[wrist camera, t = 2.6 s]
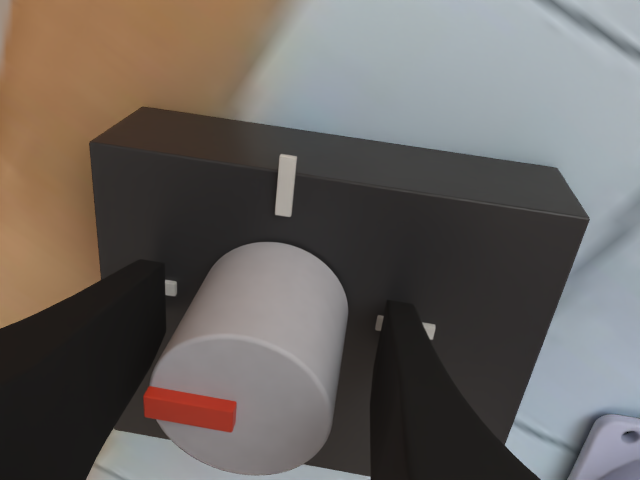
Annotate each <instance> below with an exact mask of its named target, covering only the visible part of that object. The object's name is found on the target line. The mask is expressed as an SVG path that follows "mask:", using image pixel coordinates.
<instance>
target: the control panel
mask: <svg viewBox="0 0 640 480" xmlns="http://www.w3.org/2000/svg"><path fill="white" fill-rule="evenodd" d="M89 146H90V157H91V169H92V180H93V191H94V203H95V214H96V226H97V237H98V248H99V260H100V271H101V280H102V279H104V278H106V277H108V276H109V275H111V274H113V273H115V272H117V271H118V270H120V269H122V268H124V267H126V266H127V265H129V264H131V263H133V262H135V261H137V260H139V259H143V260H149V261H155V262H161V263H165V297H166V333H165V336H164V338H163V340H162V343H161V345H160V348H159V350H158V352H157V355H156V357H155V359H154V361H153V363H152V366H151V367H150V369H149V371H148V373H147V374H146V376H145V378H144V379H143V381H142V383H141V384H140V386H139V387H138V389H137V391H136V392H135V394H134V396H133V397H132V399H131V401H130V402H129V404H128V405H127V407H126V409H125V410H124V412H123V414H122V415H121V417H120V418H119V420H118V422H117V423H116V425H115V427H114V429H115V430H119V431H125V432H130V433H136V434H141V435H147V436H152V437H158V438H163V439H169V440H171V439H170V438H169V437H168V436H167V435H166V434H165V432H164V431H163V430H162V428H161V427H160V425H159V424H158V422H157V420H156V419H152V418H147V417H144V403H143V396H144V394H145V392H146V390H147V388H148V387H149V384H150V379H151V374H152V372H153V370H154V367H155V365H156V364H157V362H158V360H159V358H160V357H161V355H162V353H163V351H164V350H165V348H166V346H167V344H168V343H169V341H170V339H171V337H172V336H173V334H174V332H175V330H176V329H177V327H178V325H179V323H180V322H181V320H182V318H183V316H184V315H185V313H186V311H187V309H188V308H189V306H190V304H191V302H192V301H193V299H194V297H195V295H196V294H197V292H198V290H199V288H200V287H201V285H202V283H203V281H204V280H205V278H206V276H207V275H208V273H209V271H210V270H211V268H212V267H213V265H214V264H215V263H216V262H217V261H218V260H219V259H220V258H221V257H222V256H224V255H225V254H226V253H228V252H230V251H231V250H233V249H236V248H238V247H240V246H243V245H247V244H251V243H257V242H277V243H284V244H288V245H292V246H295V247H298V248H301V249H303V250H305V251H307V252H309V253H311V254H312V255H314V256H315V257H317V258H318V259H320V260H321V261H322V262H323V263H325V264H326V265H327V266H328V267H329V268H330V269H331V270H332V272H333V273H334V274H335V276H336V277H337V278H338V280H339V282H340V283H341V285H342V287H343V289H344V292H345V294H346V298H347V303H348V320H347V327H346V334H345V341H344V347H343V354H342V361H341V368H340V375H339V382H338V389H337V395H336V402H335V409H334V416H333V423H332V427H331V431H330V434H329V436H328V439H327V441H326V442H325V444H324V445H323V447H322V448H321V449H320V451H319V452H318V453H317V454H316V455H315V456H314V457H313V458H311V459H310V460H309V461H307V462H306V463H304V464H305V465H310V466H316V467H321V468H327V469H332V470H338V471H343V472H349V473H354V474H360V475H365V476H371V464H370V396H371V386H372V377H373V367H374V362H375V357H376V352H377V347H378V342H379V337H380V332H381V327H382V322H383V317H384V312H385V307H386V302H387V300H392V301H399V302H405V303H411V304H414V306H415V307H416V309H417V311H418V314H419V316H420V319H421V321H422V323H423V326H424V328H425V330H426V332H427V334H428V336H429V338H430V341H431V342H432V344H433V346H434V348H435V350H436V352H437V354H438V356H439V357H440V359H441V361H442V363H443V365H444V366H445V368H446V370H447V371H448V373H449V375H450V376H451V378H452V379H453V381H454V383H455V384H456V386H457V387H458V389H459V390H460V392H461V393H462V395H463V396H464V398H465V399H466V400H467V402H468V403H469V405H470V406H471V407H472V409H473V410H474V411H475V412H476V414H477V415H478V416H479V417H480V419H481V420H482V421H483V422H484V424H485V425H486V426H487V427H488V428H489V429H490V430H491V432H492V433H493V434H494V435H495V436H496V437H497V438H498V439H499V440H500V441H501V442H502V443H503V444H504V445H505V443H506V440H507V438H508V435H509V432H510V430H511V427H512V424H513V422H514V419H515V416H516V414H517V411H518V408H519V406H520V403H521V400H522V398H523V395H524V392H525V390H526V387H527V385H528V382H529V379H530V377H531V374H532V371H533V369H534V366H535V363H536V361H537V358H538V355H539V353H540V350H541V347H542V345H543V342H544V339H545V337H546V334H547V331H548V329H549V326H550V323H551V321H552V318H553V315H554V313H555V310H556V308H557V305H558V302H559V300H560V297H561V294H562V292H563V289H564V286H565V284H566V281H567V278H568V276H569V273H570V270H571V268H572V265H573V262H574V260H575V257H576V254H577V252H578V249H579V246H580V244H581V241H582V238H583V236H584V233H585V231H586V228H587V225H588V223H589V220H590V219H589V216H588V215H587V213H586V212H585V210H584V209H583V207H582V206H581V204H580V202H579V201H578V199H577V198H576V196H575V195H574V193H573V192H572V190H571V189H570V187H569V185H568V184H567V182H566V181H565V179H564V178H563V176H562V175H561V173H560V171H559V170H558V169H557V168H554V167H547V166H541V165H534V164H527V163H520V162H514V161H507V160H500V159H493V158H486V157H480V156H473V155H466V154H459V153H453V152H446V151H439V150H432V149H426V148H419V147H412V146H405V145H399V144H392V143H385V142H378V141H372V140H365V139H358V138H351V137H345V136H338V135H331V134H324V133H317V132H311V131H304V130H297V129H290V128H284V127H277V126H270V125H263V124H257V123H250V122H243V121H236V120H230V119H223V118H216V117H209V116H203V115H196V114H189V113H182V112H176V111H169V110H162V109H155V108H148V107H141V108H140V109H138V110H137V111H135V112H134V113H132V114H131V115H129V116H128V117H126V118H125V119H123V120H122V121H120V122H119V123H117V124H116V125H114V126H113V127H111V128H110V129H108V130H107V131H105V132H104V133H102V134H101V135H99V136H98V137H96V138H95V139H93V140H92V141H90V143H89Z"/></svg>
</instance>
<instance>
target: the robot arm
mask: <svg viewBox="0 0 640 480" xmlns="http://www.w3.org/2000/svg"><path fill="white" fill-rule="evenodd" d="M165 333H166V297H165V263H161V262H155V261H149V260H143V259H139V260H137V261H135V262H133V263H131V264H129V265H127V266H126V267H124V268H122V269H120V270H118V271H117V272H115V273H113V274H111V275H109V276H108V277H106V278H104V279H102V280H101V281H99V282H97V283H95V284H93V285H91V286H90V287H88V288H86V289H84V290H82V291H81V292H79V293H77V294H75V295H73V296H71V297H69V298H67V299H65V300H63V301H61V302H59V303H57V304H55V305H53V306H51V307H49V308H47V309H45V310H43V311H41V312H39V313H37V314H34V315H32V316H30V317H28V318H25V319H23V320H21V321H18V322H16V323H14V324H11V325H8V326H6V327H3V328H1V329H0V480H86V478H87V476H88V474H89V472H90V470H91V468H92V466H93V464H94V462H95V459H96V457H97V456H98V454H99V452H100V450H101V448H102V447H103V445H104V443H105V441H106V439H107V438H108V436H109V435H110V433H111V431H112V430H113V428H114V427H115V425H116V423H117V422H118V420H119V418H120V417H121V415H122V414H123V412H124V410H125V409H126V407H127V405H128V404H129V402H130V401H131V399H132V397H133V396H134V394H135V392H136V391H137V389H138V387H139V386H140V384H141V383H142V381H143V379H144V378H145V376H146V374H147V373H148V371H149V369H150V367H151V366H152V363H153V361H154V359H155V357H156V355H157V352H158V350H159V348H160V345H161V343H162V340H163V338H164V336H165ZM628 431H632V432H630V433H628V434H624V433H625V432H628ZM370 464H371V480H540V479H539V478H538V477H537V476H536V475H535V474H534V473H533V472H531V471H530V470H529V469H528V468H527V467H526V466H525V465H524V464H523V463H522V462H521V461H520V460H519V459H517V458H516V457H515V456H514V455H513V454H512V453H511V452H510V451H509V450H508V449H507V447H506V446H505V445H504V444H503V443H502V442H501V441H500V440H499V439H498V438H497V437H496V436H495V435H494V434H493V433H492V432H491V430H490V429H489V428H488V427H487V426H486V425H485V424H484V422H483V421H482V420H481V419H480V417H479V416H478V415H477V414H476V412H475V411H474V410H473V409H472V407H471V406H470V405H469V403H468V402H467V400H466V399H465V398H464V396H463V395H462V393H461V392H460V390H459V389H458V387H457V386H456V384H455V383H454V381H453V379H452V378H451V376H450V375H449V373H448V371H447V370H446V368H445V366H444V365H443V363H442V361H441V359H440V357H439V356H438V354H437V352H436V350H435V348H434V346H433V344H432V342H431V341H430V338H429V336H428V334H427V332H426V330H425V328H424V326H423V323H422V321H421V319H420V316H419V314H418V311H417V309H416V307H415V306H414V304H411V303H405V302H399V301H392V300H387V302H386V307H385V312H384V317H383V322H382V327H381V332H380V337H379V342H378V347H377V352H376V357H375V362H374V367H373V377H372V386H371V396H370ZM568 480H640V418H634V417H628V416H622V415H616V414H608V415H604V416H602V417H600V418H598V419H597V420H596V421H595V423H594V424H593V427H592V429H591V431H590V433H589V435H588V437H587V439H586V441H585V444H584V446H583V448H582V450H581V452H580V454H579V456H578V458H577V461H576V463H575V465H574V467H573V469H572V471H571V473H570V475H569V478H568Z"/></svg>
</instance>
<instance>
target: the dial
mask: <svg viewBox="0 0 640 480" xmlns="http://www.w3.org/2000/svg"><path fill="white" fill-rule="evenodd" d="M347 320H348V303H347V298H346V294H345V292H344V289H343V287H342V285H341V283H340V282H339V280H338V278H337V277H336V276H335V274H334V273H333V272H332V270H331V269H330V268H329V267H328V266H327V265H326V264H325V263H323V262H322V261H321V260H320V259H318V258H317V257H315V256H314V255H312V254H311V253H309V252H307V251H305V250H303V249H301V248H298V247H295V246H292V245H288V244H284V243H277V242H257V243H251V244H247V245H243V246H240V247H238V248H236V249H233V250H231V251H230V252H228V253H226V254H225V255H224V256H222V257H221V258H220V259H219V260H218V261H217V262H216V263H215V264H214V265H213V267H212V268H211V270H210V271H209V273H208V275H207V276H206V278H205V280H204V281H203V283H202V285H201V287H200V288H199V290H198V292H197V294H196V295H195V297H194V299H193V301H192V302H191V304H190V306H189V308H188V309H187V311H186V313H185V315H184V316H183V318H182V320H181V322H180V323H179V325H178V327H177V329H176V330H175V332H174V334H173V336H172V337H171V339H170V341H169V343H168V344H167V346H166V348H165V350H164V351H163V353H162V355H161V357H160V358H159V360H158V362H157V364H156V365H155V367H154V370H153V372H152V374H151V379H150V384H149V387H148V388H147V390H146V392H145V394H144V396H143V403H144V417H147V418H152V419H156V420H157V422H158V424H159V425H160V427H161V428H162V430H163V431H164V432H165V434H166V435H167V436H168V437H169V438H170V439H171V440H172V441H173V442H174V443H175V444H176V445H177V446H178V447H179V448H181V449H182V450H183V451H184V452H186V453H187V454H189V455H190V456H192V457H193V458H195V459H197V460H199V461H201V462H203V463H205V464H207V465H209V466H212V467H214V468H217V469H220V470H223V471H227V472H232V473H237V474H244V475H271V474H277V473H282V472H285V471H289V470H292V469H294V468H297V467H299V466H301V465H302V464H304V463H306V462H307V461H309V460H310V459H311V458H313V457H314V456H315V455H316V454H317V453H318V452H319V451H320V449H321V448H322V447H323V445H324V444H325V442H326V441H327V439H328V436H329V434H330V431H331V427H332V423H333V416H334V409H335V402H336V395H337V389H338V382H339V375H340V368H341V361H342V354H343V347H344V341H345V334H346V327H347Z"/></svg>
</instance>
